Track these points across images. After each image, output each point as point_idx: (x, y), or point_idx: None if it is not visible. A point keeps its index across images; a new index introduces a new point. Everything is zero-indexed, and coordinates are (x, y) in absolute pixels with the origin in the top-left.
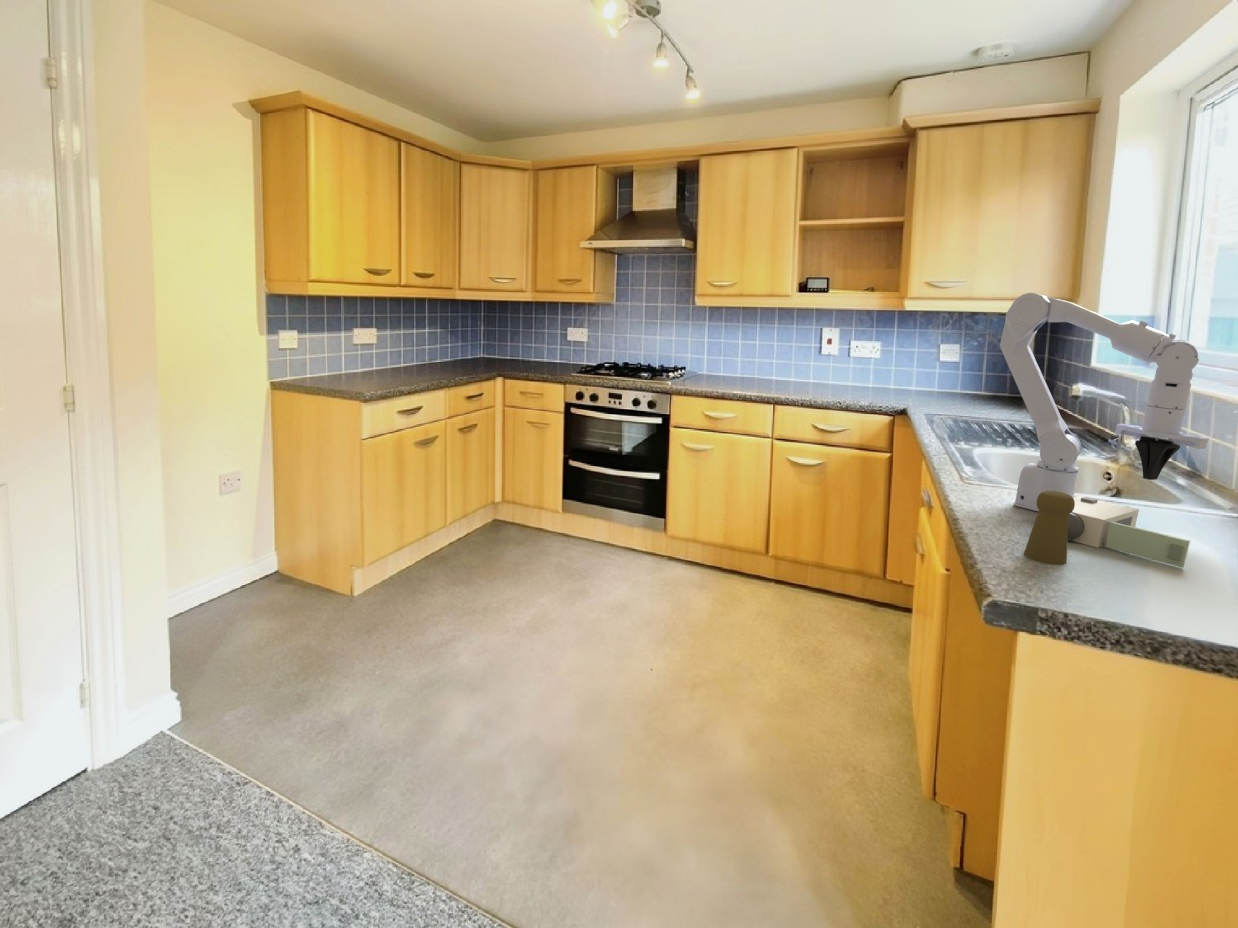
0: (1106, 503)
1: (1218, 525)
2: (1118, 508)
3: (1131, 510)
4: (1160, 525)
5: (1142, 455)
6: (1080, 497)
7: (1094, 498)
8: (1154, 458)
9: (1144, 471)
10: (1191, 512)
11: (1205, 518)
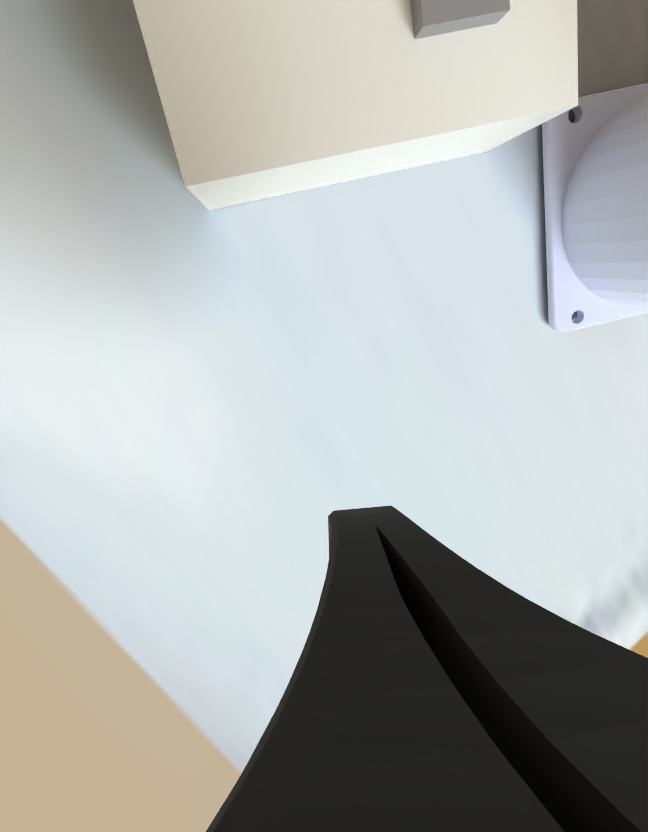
0: (369, 90)
1: (244, 737)
2: (239, 20)
3: (171, 77)
4: (301, 526)
5: (545, 634)
6: (547, 55)
7: (446, 17)
8: (353, 653)
9: (404, 529)
10: None
11: None
